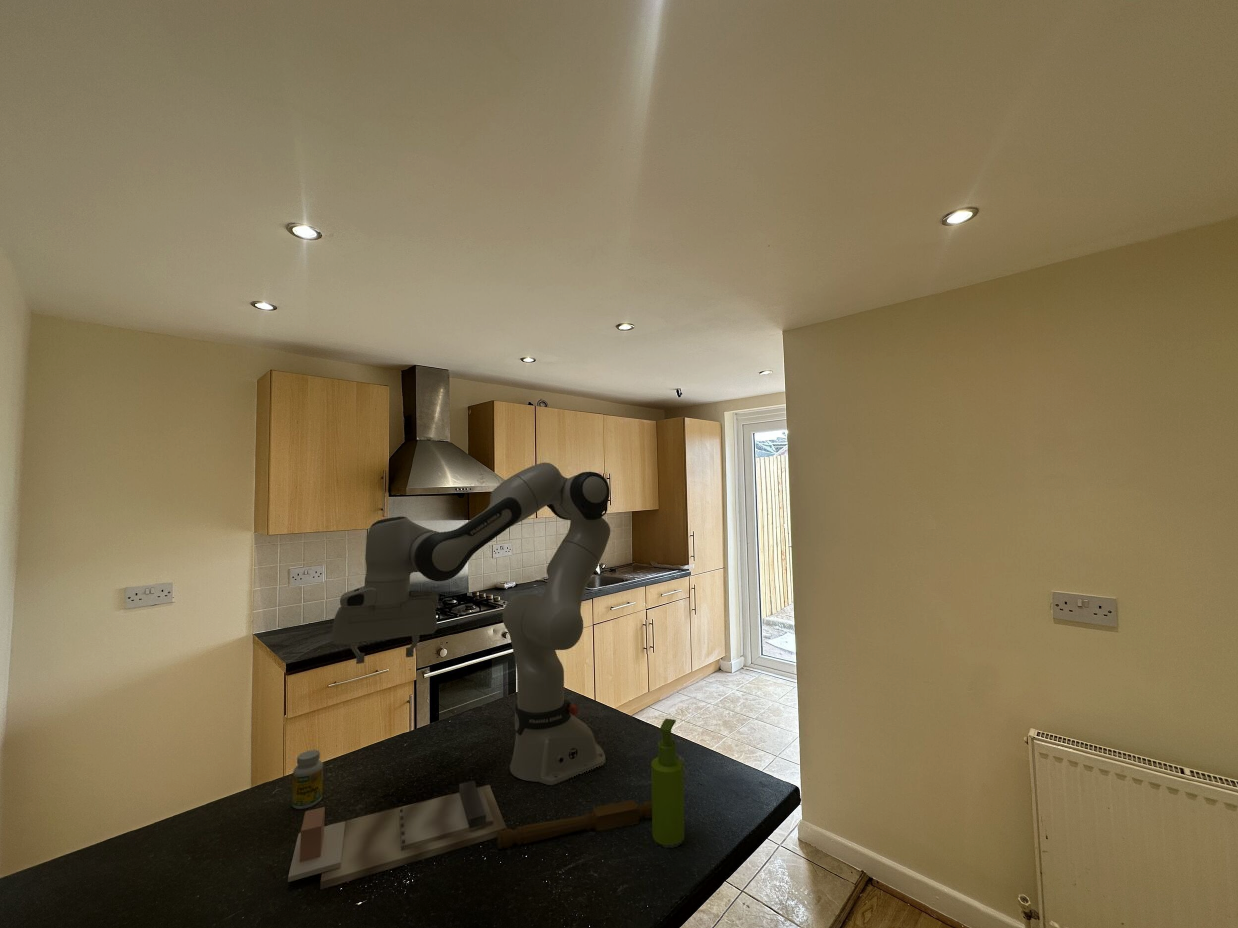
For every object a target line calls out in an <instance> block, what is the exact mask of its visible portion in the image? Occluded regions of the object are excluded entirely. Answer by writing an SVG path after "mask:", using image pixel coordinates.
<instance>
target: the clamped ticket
mask: <svg viewBox="0 0 1238 928" xmlns="http://www.w3.org/2000/svg"><path fill="white" fill-rule="evenodd" d="M475 782H476V781H475V780H472V781H467V782H464V783H463V782H462V783H459V785H458V786H459V787H458V792H456V793H451V794H447V795H442V796H439V797H436V798H432V799H427V800H424V801H420V802H416V803H412V804H408V805H403V806H399V807H395V808H391V809H387V810H382V811H379V812H375V813H374V812H373V813H372V814H371V813H370V814H367V815H363V816H359V817H355V818H351V819H348V820H343V821H339V822H335V823H331V824H329V825H333V824H337V823H341V822H345V830H344V839H343V849H342V858H341V867H340V868H336V869H332V870H329V871H325V872H322V873H321V877H320V888H319V889H320V890H324V889H327V888H330V887H331V888H332V887H334V886H337V885H341V884H343V883H344V884H345V883H347V882H351V881H354V880H357V879H360V878H364V877H368V876H371V875H374V874H378V873H381V872H384V871H387V870H391V869H394V868H399V867H401V866H404V865H408V864H411V863H414V862H418V861H421V860H424V859H428V858H431V857H434V856H439V855H442V854H445V853H448V852H451V851H452V852H453V851H455V850H458V849H462V848H464V847H469V846H472V845H474V844H475V845H476V844H479V843H481V842H484V841H485V842H486V841H489V840H492V839H496V838H498V831H499V830H502V831H503V830H504V829H506V828H507V826H506V823H505V821H504V818H503V815H502V814H501V811H500V809H499V805H498V803H497V801H496V799H495V795H494V793H493V791H492V788H491V785H490V784H487V785H483V786H480V787H479V786H478V787H477V785H476V783H475Z"/></svg>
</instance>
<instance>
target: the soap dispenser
mask: <svg viewBox="0 0 1238 928" xmlns="http://www.w3.org/2000/svg"><path fill="white" fill-rule="evenodd" d="M676 721H677V720H676V719H674V718H673V719H672V718H665V719H664V720H663V721H662V724H661V726H660V728H659V732H660V733H661V740H659V741H658V742H657V757H655V758H653V760H652V761H651V763H650V765H651V766H650V767H651V769H650V770H651V803H652V817H651V819H652V821H651V823H652V824H651V827H652V829H651V830H652V831H651V832H652V833H651V835H652V836H653V838H654V840H655V841H656V842H658V843H660V844H663V845H674V844H678V843H679V842H681V841H682V840H683V839H684V840H685V803H684V802H685V800H684V799H685V798H684V764H683V761H682V760H681V759H679V758H678V757H677V745H676V742H675V741H673V740H672V729H673V727H674V725H675V724H676ZM653 838H652V839H653Z"/></svg>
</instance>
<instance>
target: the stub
mask: <svg viewBox="0 0 1238 928" xmlns="http://www.w3.org/2000/svg"><path fill="white" fill-rule="evenodd" d="M325 812H326V808H325V806H322V807H318V808H315V809H309V810H306V811H305V812H304V816H303V821H302V825H301V829H300V832H298V834H297V839H296V843H295V846H294V847H295V848H294V852H293V855H292V856H293V857H292V860H291V863H290V868H289V873H288V876H287V883H289V882H293V881H297V880H300V879H304V878H308V877H311V876H315V875H318V874H322V872H325V871H329V870H332V869H336V868H340V867H341V858H342V849H343V839H344V830H345V822H342V821H340V822H341V823H338V822H336V823H337V824H334V823H332V824H333V825H330V824H329V825H326V826H325V821H326V820H325V819H326V818H325V815H326V813H325Z"/></svg>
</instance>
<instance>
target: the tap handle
mask: <svg viewBox="0 0 1238 928" xmlns="http://www.w3.org/2000/svg"><path fill="white" fill-rule="evenodd" d="M642 817H643V818H644V817H645V819H650V817H651V818H652V801H649V800H647V801H644V802H643V803H641V805H640V804H639V803H636V801H635V800H632V799H629V800H623V801H618V802H613V803H608V804H603V805H599V806H595V807H593V809H592V812H591V813H588V812H586V813H585V814H584V815H582V816H575V817H567V818H562V819H556V820H549V821H542V822H536V823H529V824H523V825H522V826H519V825H517V827H516V828H515V829H512V828H509V827H506V829H504V830H503V831H502V830H499V831H498V837H497V849H499V850H501V849H502V848H505V849H508V848H510V847H511V846H512V845H513V844H517V846H520V845H522V844H523V845H526V844H530V843H534V842H539V841H542V840H547V839H549V838H554V837H558V836H563V835H566V834H571V833H574V832H578V831H583V830H587V831H590V830H591V829H593V830H594V831H596V832H597V831H601V830H606V829H610V830H612V829H611V828H614V827H618V826H625V827H627V826H626V825H629V824H633V823H637V822H638V823H639V820H641V818H642ZM606 831H607V830H606ZM601 832H602V831H601Z"/></svg>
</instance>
